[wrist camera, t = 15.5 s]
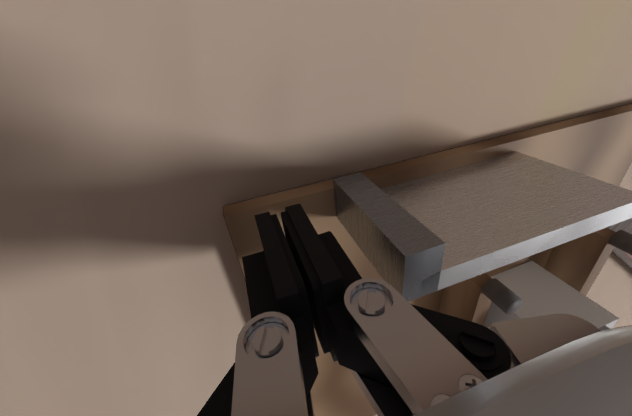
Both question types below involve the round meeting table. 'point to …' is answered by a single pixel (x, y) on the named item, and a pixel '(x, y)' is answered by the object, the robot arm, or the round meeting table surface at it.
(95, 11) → the round meeting table surface
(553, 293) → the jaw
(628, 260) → the picture frame
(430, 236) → the gate
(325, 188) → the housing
